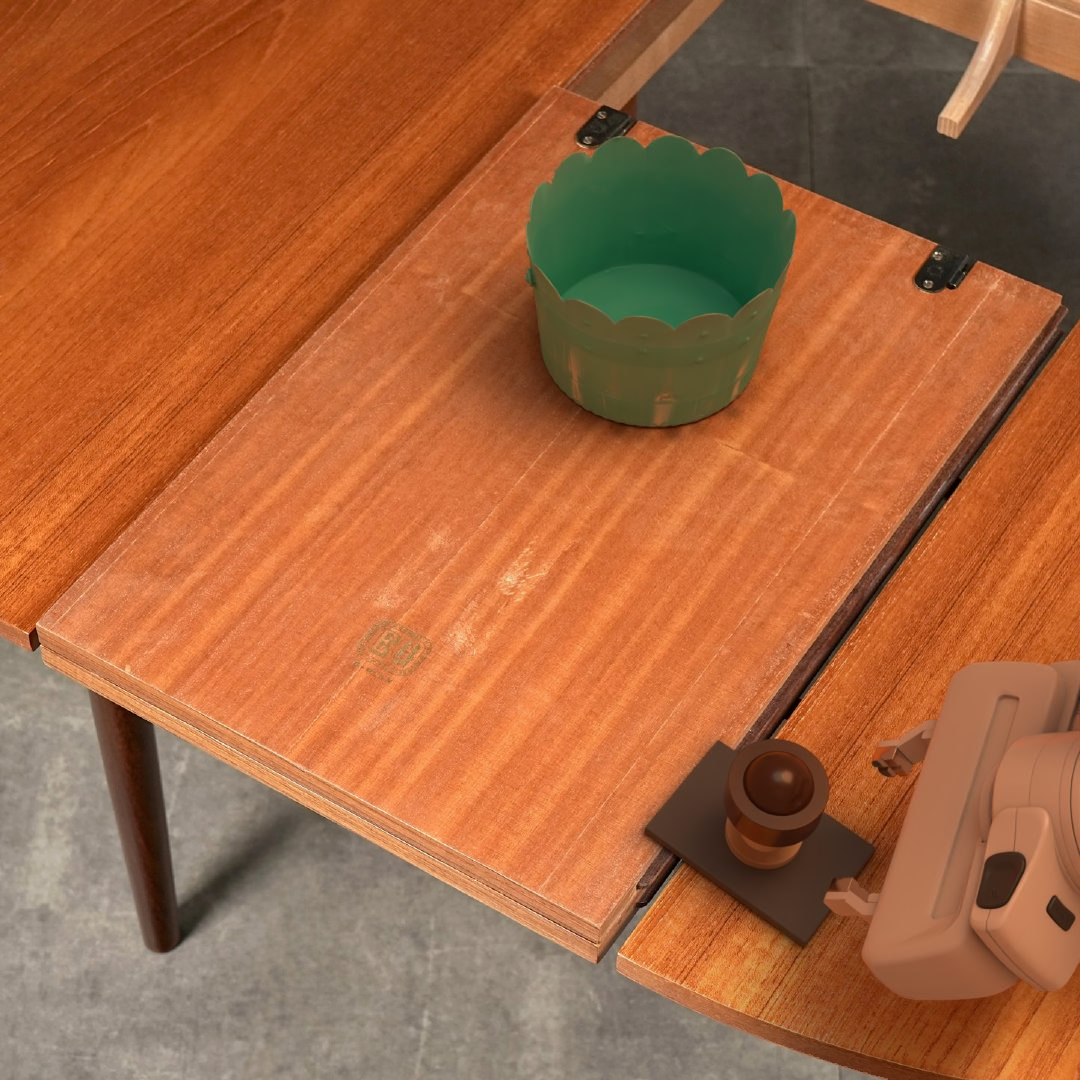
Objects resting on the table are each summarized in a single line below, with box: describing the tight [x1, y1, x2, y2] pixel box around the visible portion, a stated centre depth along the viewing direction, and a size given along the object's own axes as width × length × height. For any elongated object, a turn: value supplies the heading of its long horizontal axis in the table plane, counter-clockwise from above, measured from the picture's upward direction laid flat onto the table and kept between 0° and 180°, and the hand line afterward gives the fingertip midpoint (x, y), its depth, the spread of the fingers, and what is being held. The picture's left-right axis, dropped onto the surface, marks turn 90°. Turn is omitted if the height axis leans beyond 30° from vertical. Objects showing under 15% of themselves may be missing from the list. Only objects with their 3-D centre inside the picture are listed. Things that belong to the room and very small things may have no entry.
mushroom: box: [724, 738, 831, 869], centre depth 102 cm, size 6×6×8 cm
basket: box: [524, 134, 798, 428], centre depth 124 cm, size 19×18×13 cm
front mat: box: [644, 739, 877, 948], centre depth 106 cm, size 12×8×1 cm, turn 52°
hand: (856, 826), depth 99 cm, fingers open, 8 cm apart
